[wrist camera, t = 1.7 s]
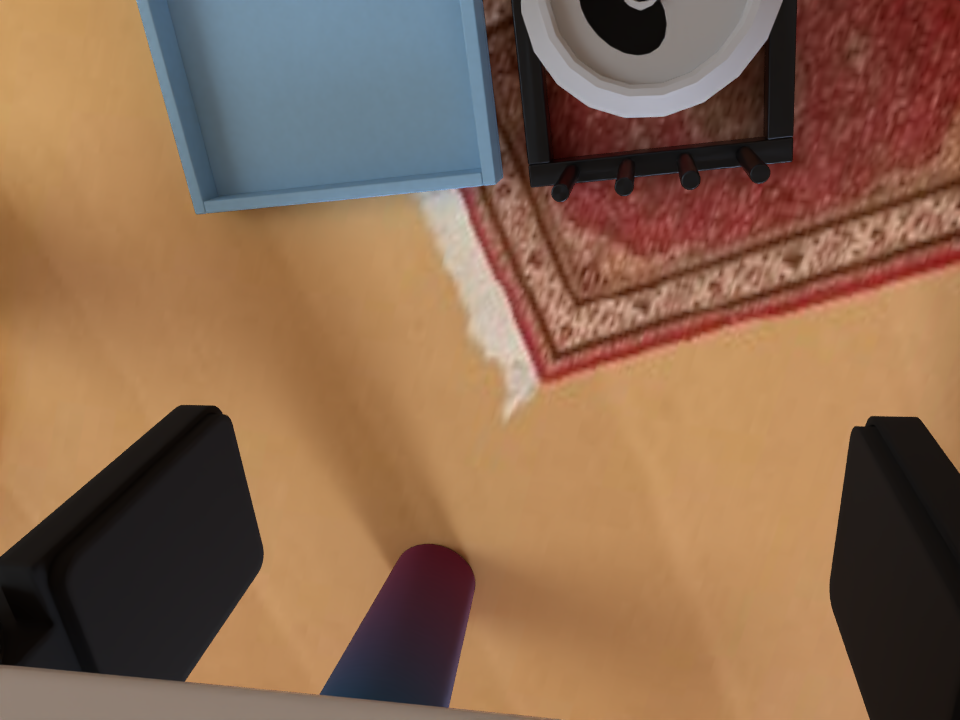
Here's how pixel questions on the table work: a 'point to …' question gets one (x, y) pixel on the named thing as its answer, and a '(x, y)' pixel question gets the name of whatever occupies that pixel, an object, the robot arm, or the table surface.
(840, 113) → the table surface
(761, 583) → the table surface
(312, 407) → the table surface
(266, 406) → the table surface
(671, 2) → the can
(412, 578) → the cup
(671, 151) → the dish rack
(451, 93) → the tray
